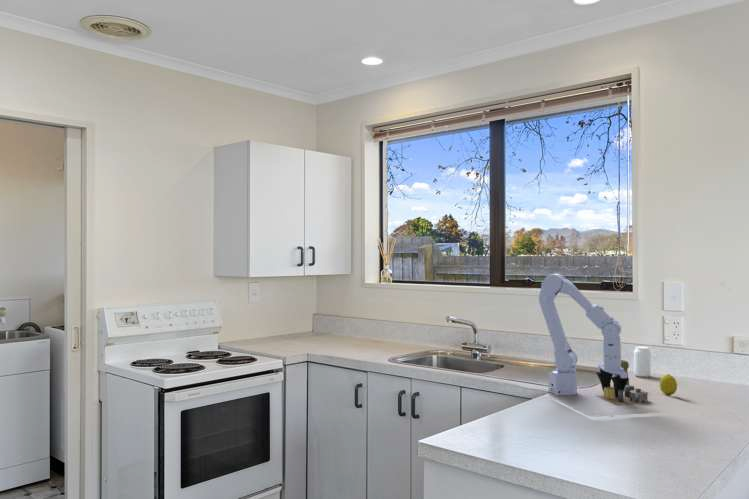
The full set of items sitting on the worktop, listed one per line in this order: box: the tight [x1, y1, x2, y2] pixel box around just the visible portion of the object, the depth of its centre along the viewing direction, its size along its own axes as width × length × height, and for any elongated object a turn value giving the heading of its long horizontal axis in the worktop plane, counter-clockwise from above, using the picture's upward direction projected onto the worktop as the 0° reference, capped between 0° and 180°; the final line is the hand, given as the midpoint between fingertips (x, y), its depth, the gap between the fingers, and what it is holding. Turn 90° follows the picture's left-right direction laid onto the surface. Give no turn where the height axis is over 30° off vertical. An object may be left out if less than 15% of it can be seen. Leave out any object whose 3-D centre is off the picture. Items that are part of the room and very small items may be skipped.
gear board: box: [596, 384, 653, 406], centre depth 206 cm, size 14×13×5 cm
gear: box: [603, 386, 618, 399], centre depth 209 cm, size 5×5×3 cm
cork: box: [612, 359, 630, 387], centre depth 224 cm, size 6×6×11 cm
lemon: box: [659, 373, 678, 397], centre depth 213 cm, size 6×6×8 cm
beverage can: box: [633, 345, 652, 378], centre depth 247 cm, size 6×6×12 cm
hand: (612, 394), depth 209 cm, fingers open, 7 cm apart
